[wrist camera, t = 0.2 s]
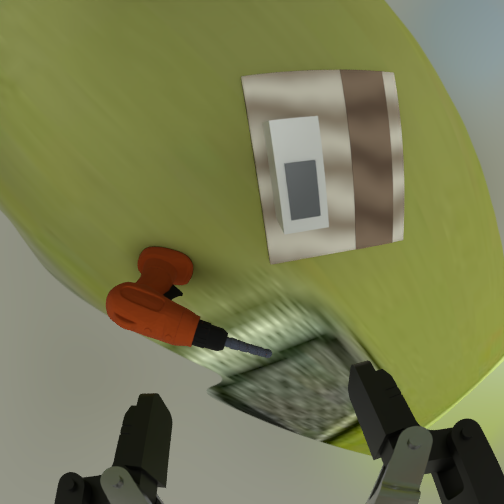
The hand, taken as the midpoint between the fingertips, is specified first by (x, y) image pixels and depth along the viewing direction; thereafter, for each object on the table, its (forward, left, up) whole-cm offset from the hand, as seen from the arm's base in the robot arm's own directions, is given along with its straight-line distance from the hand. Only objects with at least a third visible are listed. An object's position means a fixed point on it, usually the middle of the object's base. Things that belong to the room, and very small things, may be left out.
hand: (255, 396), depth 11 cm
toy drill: (+8, -7, -28) cm, 30 cm away
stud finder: (-4, +7, -27) cm, 28 cm away
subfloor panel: (-4, +13, -28) cm, 31 cm away
